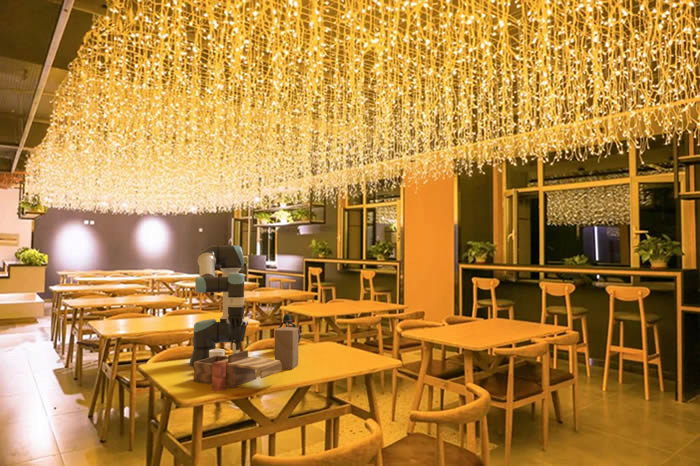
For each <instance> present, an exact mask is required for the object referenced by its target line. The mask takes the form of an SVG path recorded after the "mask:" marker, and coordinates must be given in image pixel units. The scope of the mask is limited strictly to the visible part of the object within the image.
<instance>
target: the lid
mask: <svg viewBox="0 0 700 466" xmlns="http://www.w3.org/2000/svg"><path fill="white" fill-rule="evenodd" d="M227 356H228V359H225V360H222V361H223V362H226V365H227V366H234V367H242V368H249V369H256V371H257V370H258V371H259V372H260V373H259V375H260V379H264V378H267V377H269V376H271V375H274V374H277V373H279V372H281V371H283V369H282V363H281V362H280V360H275V359H270V358H262V357H255V356H249V351H248V350H241V351H239V352H238V353H235V354H233V353H231V354H228V355H227Z"/></svg>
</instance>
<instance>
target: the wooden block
mask: <svg viewBox="0 0 700 466" xmlns="http://www.w3.org/2000/svg"><path fill="white" fill-rule="evenodd" d="M298 329H299V328H298V327H297V328H296V327H291V326H288V327H286V326H282V327H281V328H279V327H278V328H276V329H274V339H275V340H274V360H280V362H281V363H282V370H294V368H296V367H298V366H299V343H298V338H299V335H298Z"/></svg>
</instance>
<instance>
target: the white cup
mask: <svg viewBox="0 0 700 466" xmlns="http://www.w3.org/2000/svg"><path fill="white" fill-rule="evenodd" d="M225 352H226V350H225V349H224V348H216V349H212V350H209V358H210V357H213V356H216V355H220V356H225Z"/></svg>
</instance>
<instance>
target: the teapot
mask: <svg viewBox="0 0 700 466" xmlns="http://www.w3.org/2000/svg"><path fill="white" fill-rule="evenodd" d="M289 324H290V325H291V326H292V327H296V328H298V326H297V325H296V324H295V323H294V322H292V318H291V316H290V314H288V313H286V314H284V316H283V318H282V322H281V323H280V325H279V327H278V328H281V327H283V325H285V327H289ZM301 337H302V335H301V332H300V329H299V328H298V344H299V343H300V342H301V339H302V338H301ZM274 341H275V338H274Z"/></svg>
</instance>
